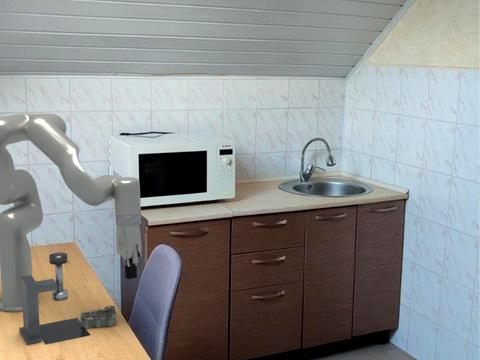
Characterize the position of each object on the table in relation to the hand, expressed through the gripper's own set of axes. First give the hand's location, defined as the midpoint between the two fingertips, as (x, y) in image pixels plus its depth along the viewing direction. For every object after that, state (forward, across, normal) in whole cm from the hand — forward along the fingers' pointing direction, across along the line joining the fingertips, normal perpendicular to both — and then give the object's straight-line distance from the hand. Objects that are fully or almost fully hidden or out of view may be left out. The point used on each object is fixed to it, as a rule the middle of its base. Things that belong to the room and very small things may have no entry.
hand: (131, 277), depth 205 cm
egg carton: (+13, -1, -11) cm, 17 cm away
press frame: (+13, -1, -24) cm, 27 cm away
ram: (+2, 0, -22) cm, 22 cm away
